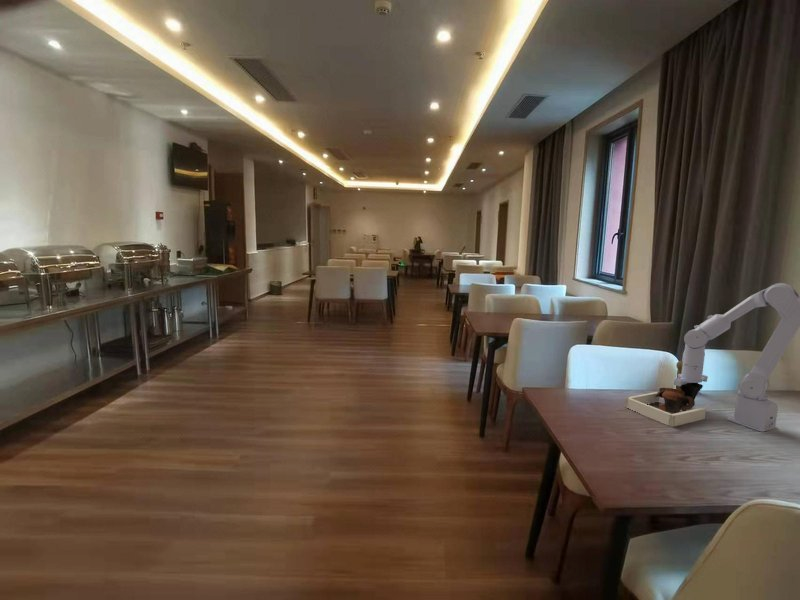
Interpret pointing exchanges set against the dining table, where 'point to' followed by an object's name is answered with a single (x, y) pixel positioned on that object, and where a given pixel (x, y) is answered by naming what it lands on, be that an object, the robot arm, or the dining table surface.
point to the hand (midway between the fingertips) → (688, 403)
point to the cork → (679, 371)
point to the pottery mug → (674, 400)
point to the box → (672, 420)
